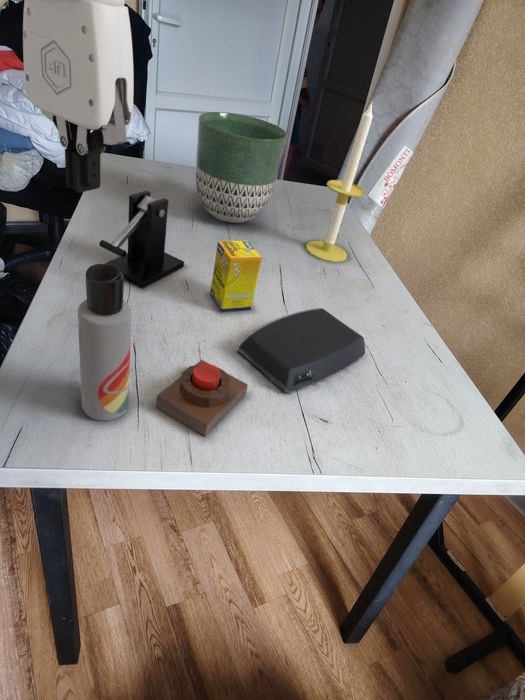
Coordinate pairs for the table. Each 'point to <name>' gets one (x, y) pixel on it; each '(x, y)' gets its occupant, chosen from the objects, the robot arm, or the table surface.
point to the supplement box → (235, 275)
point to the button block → (201, 400)
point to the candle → (342, 197)
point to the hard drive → (302, 348)
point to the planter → (237, 164)
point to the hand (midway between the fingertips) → (83, 187)
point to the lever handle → (128, 229)
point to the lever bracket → (147, 245)
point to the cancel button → (206, 377)
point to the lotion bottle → (104, 344)
